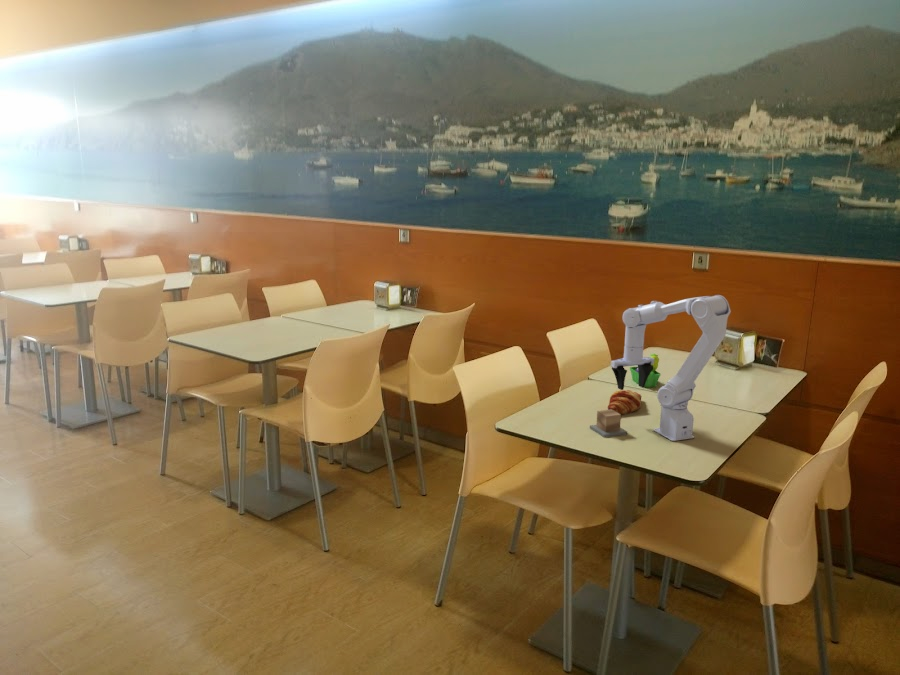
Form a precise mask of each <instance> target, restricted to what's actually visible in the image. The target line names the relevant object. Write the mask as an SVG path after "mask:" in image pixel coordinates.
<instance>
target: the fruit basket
mask: <svg viewBox="0 0 900 675" xmlns="http://www.w3.org/2000/svg"><path fill="white" fill-rule="evenodd" d="M658 356H659V355H658V354H656V353H652V354H650V355H649V357H652V358H654V364H651V365H652V366H653V370H652V371H651V373H650V374H649V376H648V378H647V380H646V383H645V386H644V387H643V388H655V387H657V384H658V381H659V378H660V377H661V375H662V374H661V373H660V372H658V371H657V370H658V367H659V362H660V359H659V357H658ZM629 370H630V373H631V378H632V379H631V380H632V381H633V382H634V383H636V384H637V385H639V384H638V380H639V371H638V366H629Z"/></svg>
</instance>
